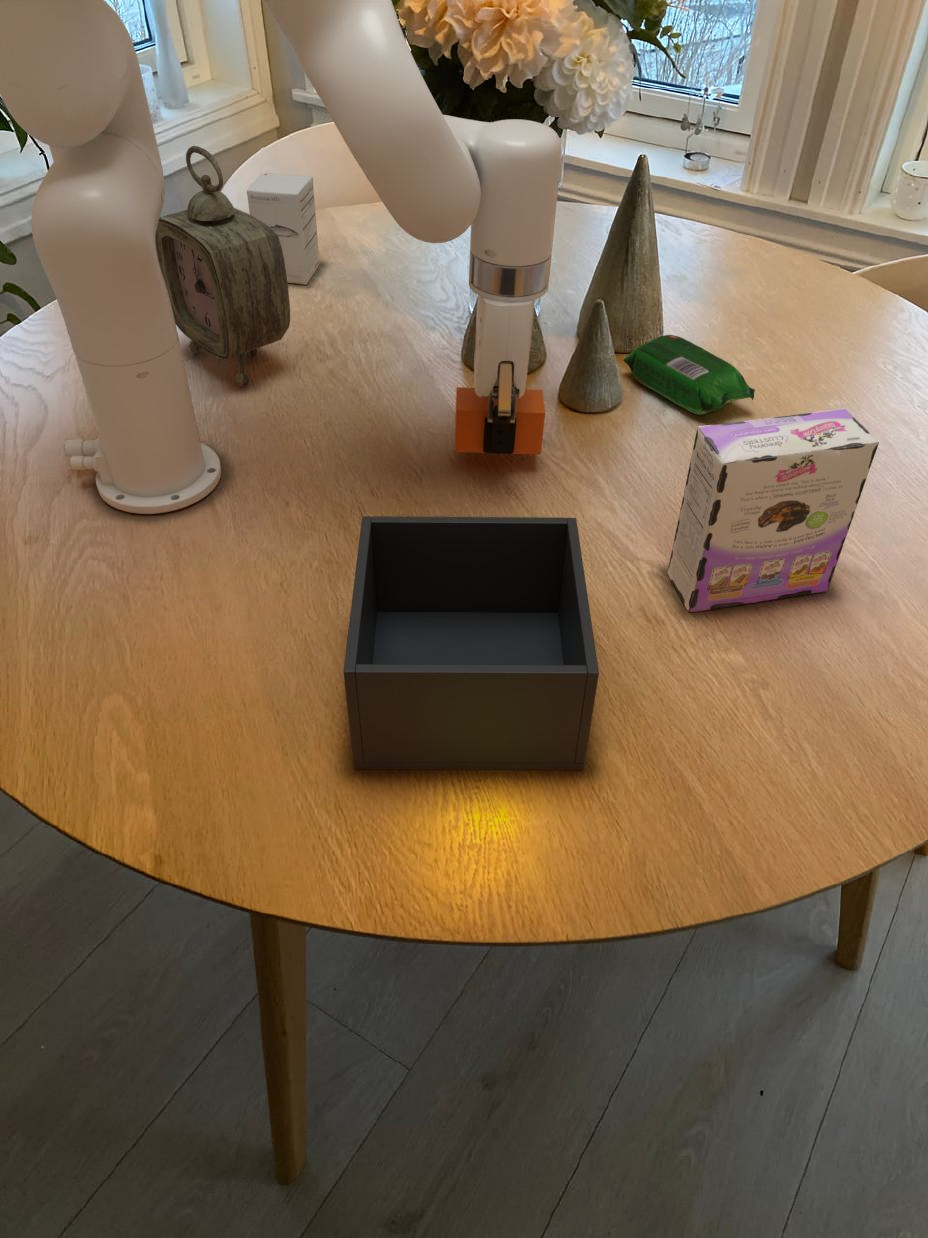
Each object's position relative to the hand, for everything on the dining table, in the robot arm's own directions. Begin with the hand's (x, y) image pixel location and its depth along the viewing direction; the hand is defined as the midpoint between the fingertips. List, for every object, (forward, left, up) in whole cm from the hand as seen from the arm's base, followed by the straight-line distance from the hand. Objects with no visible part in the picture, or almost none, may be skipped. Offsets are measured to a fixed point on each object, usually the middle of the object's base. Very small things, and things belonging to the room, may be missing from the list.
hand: (497, 436), depth 101 cm
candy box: (+23, -20, -3) cm, 30 cm away
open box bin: (-3, -33, -3) cm, 33 cm away
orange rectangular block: (0, 0, -1) cm, 1 cm away
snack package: (+23, +14, -3) cm, 27 cm away
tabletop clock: (-31, +21, -3) cm, 38 cm away
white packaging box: (-28, +47, -3) cm, 55 cm away
